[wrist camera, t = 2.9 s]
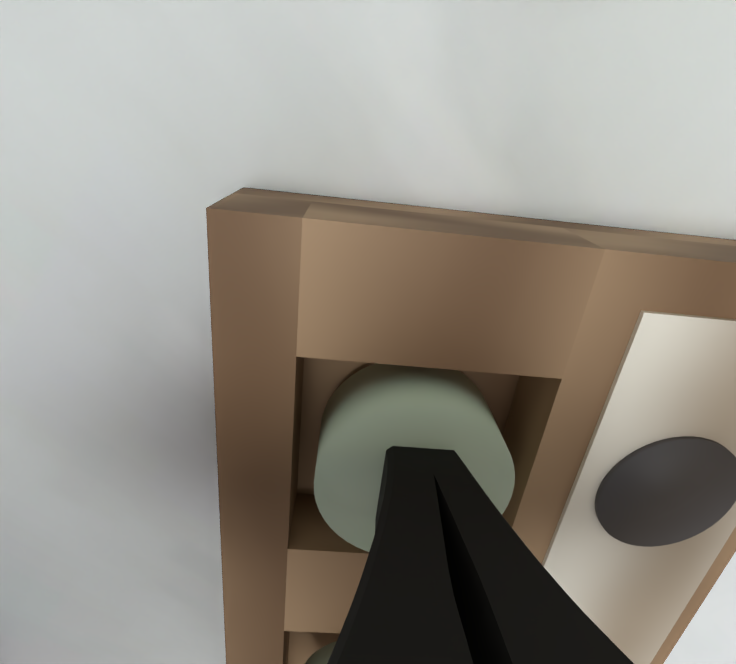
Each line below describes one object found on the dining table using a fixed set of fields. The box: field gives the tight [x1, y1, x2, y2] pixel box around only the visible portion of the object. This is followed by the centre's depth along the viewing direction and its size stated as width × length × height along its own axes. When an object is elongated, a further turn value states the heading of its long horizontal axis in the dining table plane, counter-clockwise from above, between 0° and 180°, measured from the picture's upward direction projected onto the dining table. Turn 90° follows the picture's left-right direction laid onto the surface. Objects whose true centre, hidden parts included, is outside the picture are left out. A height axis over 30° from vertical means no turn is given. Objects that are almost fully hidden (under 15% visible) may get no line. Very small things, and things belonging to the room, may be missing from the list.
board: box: [206, 188, 736, 664], centre depth 14 cm, size 12×26×3 cm, turn 174°
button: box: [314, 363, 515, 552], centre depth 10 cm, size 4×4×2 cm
